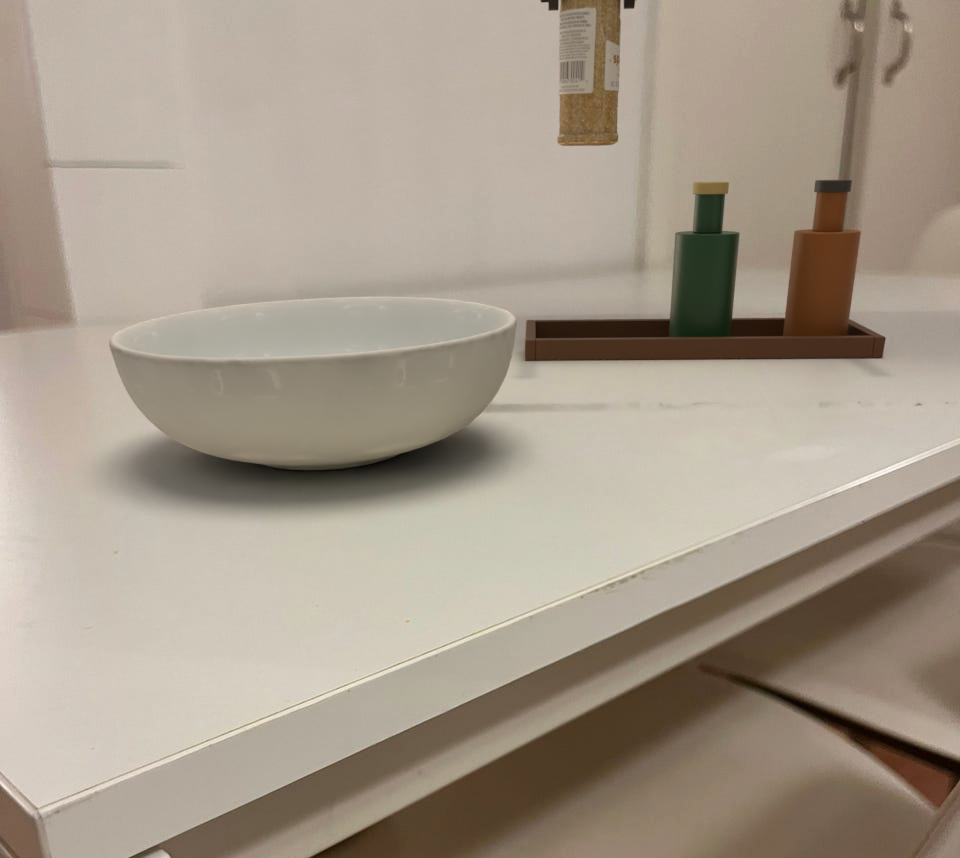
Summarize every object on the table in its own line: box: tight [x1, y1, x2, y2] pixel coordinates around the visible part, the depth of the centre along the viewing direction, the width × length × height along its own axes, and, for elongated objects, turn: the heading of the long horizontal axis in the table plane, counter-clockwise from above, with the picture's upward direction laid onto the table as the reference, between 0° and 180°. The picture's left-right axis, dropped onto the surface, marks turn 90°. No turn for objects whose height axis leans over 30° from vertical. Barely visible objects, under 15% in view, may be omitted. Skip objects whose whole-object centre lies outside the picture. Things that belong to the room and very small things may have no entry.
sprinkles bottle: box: [556, 0, 622, 147], centre depth 71 cm, size 5×5×13 cm
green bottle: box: [669, 181, 741, 337], centre depth 78 cm, size 5×5×12 cm
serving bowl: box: [108, 296, 518, 471], centre depth 54 cm, size 21×21×7 cm
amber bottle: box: [783, 179, 862, 336], centre depth 77 cm, size 5×5×12 cm
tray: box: [524, 317, 886, 362], centre depth 80 cm, size 27×11×2 cm, turn 87°
